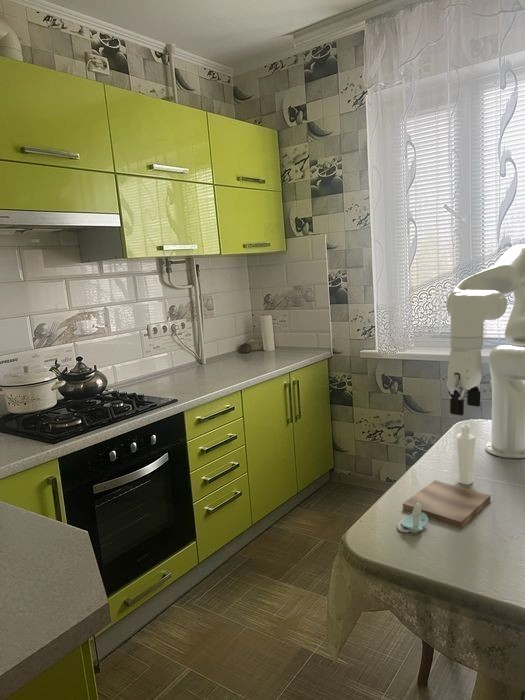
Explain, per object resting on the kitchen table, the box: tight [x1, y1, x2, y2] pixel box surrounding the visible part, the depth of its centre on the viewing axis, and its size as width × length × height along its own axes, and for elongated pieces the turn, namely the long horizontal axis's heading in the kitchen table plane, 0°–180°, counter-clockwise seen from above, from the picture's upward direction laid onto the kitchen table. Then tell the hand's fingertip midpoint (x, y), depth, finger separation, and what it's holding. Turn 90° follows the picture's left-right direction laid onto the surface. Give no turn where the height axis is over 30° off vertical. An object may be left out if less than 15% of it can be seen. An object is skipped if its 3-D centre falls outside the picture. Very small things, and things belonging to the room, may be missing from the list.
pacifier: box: [396, 503, 429, 533], centre depth 112 cm, size 7×6×6 cm
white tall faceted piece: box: [456, 424, 476, 486], centre depth 132 cm, size 5×4×15 cm
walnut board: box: [402, 479, 492, 529], centre depth 121 cm, size 16×14×2 cm
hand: (465, 409), depth 130 cm, fingers open, 9 cm apart
